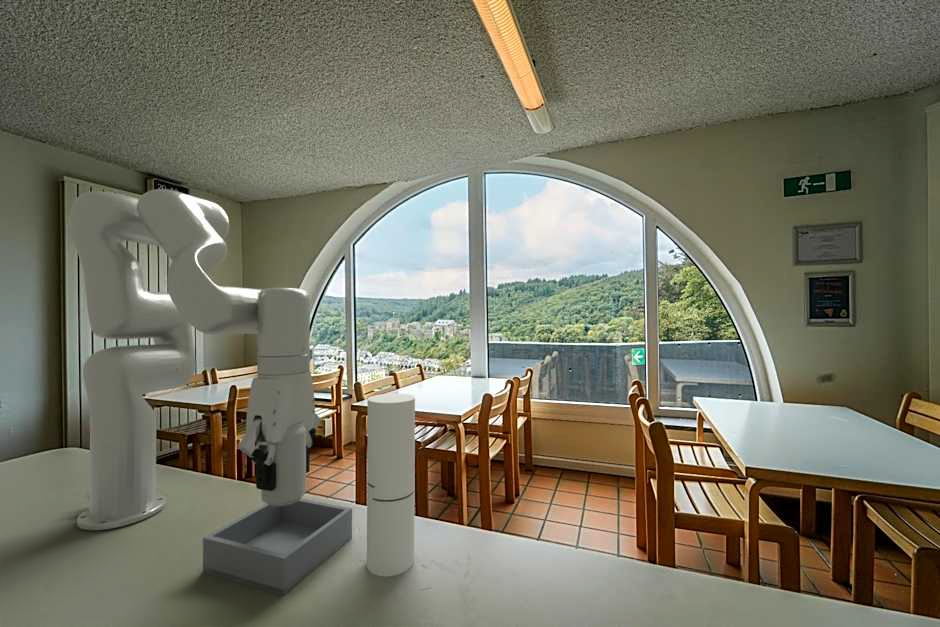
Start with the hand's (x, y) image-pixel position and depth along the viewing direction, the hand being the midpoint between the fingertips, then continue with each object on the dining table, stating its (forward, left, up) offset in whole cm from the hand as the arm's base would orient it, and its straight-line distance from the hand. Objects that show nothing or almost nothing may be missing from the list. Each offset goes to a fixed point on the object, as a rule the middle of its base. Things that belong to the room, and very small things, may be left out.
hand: (284, 479), depth 63 cm
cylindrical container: (+17, +4, -12) cm, 21 cm away
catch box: (0, 0, -12) cm, 12 cm away
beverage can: (0, 0, -3) cm, 3 cm away
